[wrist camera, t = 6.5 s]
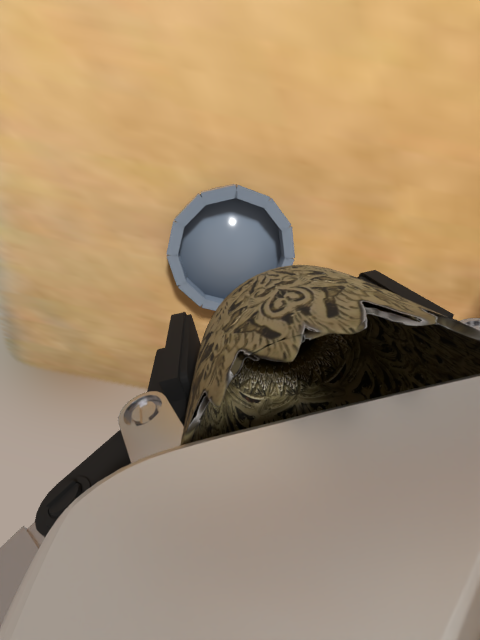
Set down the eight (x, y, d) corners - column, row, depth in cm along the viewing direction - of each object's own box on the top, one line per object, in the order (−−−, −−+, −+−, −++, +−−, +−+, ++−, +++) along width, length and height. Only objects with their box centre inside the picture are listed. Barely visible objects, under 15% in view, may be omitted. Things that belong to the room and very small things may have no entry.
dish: (280, 172, 24) (287, 172, 22) (292, 289, 30) (298, 297, 28) (152, 202, 24) (148, 205, 22) (190, 314, 30) (190, 323, 28)
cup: (160, 258, 11) (89, 421, 4) (335, 199, 10) (599, 257, 4) (219, 385, 14) (238, 582, 8) (349, 343, 14) (490, 507, 7)
